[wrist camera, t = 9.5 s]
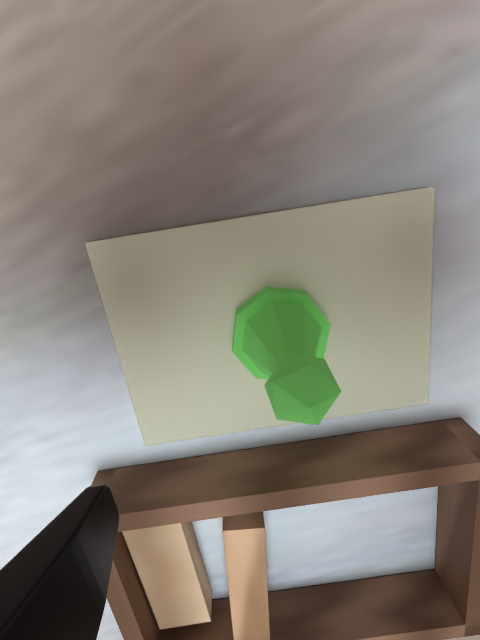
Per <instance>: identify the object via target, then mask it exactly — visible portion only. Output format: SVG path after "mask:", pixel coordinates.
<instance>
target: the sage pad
mask: <svg viewBox="0 0 480 640" xmlns="http://www.w3.org/2000/svg"><path fill="white" fill-rule="evenodd" d="M434 202H435V187H425V188H418V189H412V190H406V191H400V192H394V193H387V194H381V195H375V196H369V197H363V198H356V199H350V200H344V201H338V202H332V203H326V204H319V205H313V206H307V207H301V208H295V209H288V210H282V211H276V212H270V213H264V214H257V215H251V216H245V217H239V218H233V219H226V220H220V221H214V222H208V223H202V224H196V225H189V226H183V227H177V228H171V229H165V230H158V231H152V232H146V233H140V234H134V235H127V236H121V237H115V238H109V239H103V240H96V241H90V242H87V243H85V246H86V249H87V252H88V256H89V259H90V262H91V266H92V269H93V273H94V276H95V279H96V283H97V286H98V289H99V293H100V296H101V299H102V303H103V306H104V309H105V313H106V316H107V320H108V323H109V326H110V330H111V333H112V336H113V340H114V343H115V346H116V350H117V353H118V357H119V360H120V363H121V367H122V370H123V373H124V377H125V380H126V383H127V387H128V390H129V393H130V397H131V400H132V404H133V407H134V410H135V414H136V417H137V420H138V424H139V427H140V430H141V434H142V437H143V440H144V444H145V446H149V445H156V444H162V443H169V442H176V441H183V440H189V439H196V438H203V437H209V436H216V435H223V434H230V433H236V432H243V431H250V430H256V429H263V428H270V427H277V426H283V425H290V424H297V423H299V422H291V421H284V420H277V419H276V416H275V413H274V411H273V408H272V405H271V403H270V400H269V397H268V394H267V392H266V389H265V386H264V385H265V383H266V382H267V380H268V379H257V378H255V377H254V376H253V375H252V373H251V372H250V371H249V370H248V369H247V368H246V367H245V366H244V365H243V363H242V362H241V361H240V360H239V359H238V358H237V357H236V356H235V354H234V353H233V352H232V342H233V333H234V324H235V315H236V310H237V309H238V308H239V307H241V306H242V305H243V304H244V303H246V302H247V301H248V300H250V299H251V298H252V297H254V296H255V295H256V294H257V293H259V292H260V291H261V290H263V289H264V288H265V287H276V288H285V289H295V290H305V292H306V293H307V294H308V295H309V297H310V298H311V299H312V301H313V302H314V303H315V305H316V306H317V307H318V308H319V310H320V311H321V312H322V314H323V315H324V316H325V318H326V319H327V320H328V322H329V323H330V324H331V326H330V331H329V336H328V341H327V345H326V350H325V355H324V359H325V360H326V362H327V364H328V366H329V368H330V370H331V372H332V374H333V376H334V378H335V380H336V382H337V384H338V386H339V388H340V390H341V393H340V395H339V396H338V398H337V399H336V400H335V402H334V403H333V405H332V406H331V408H330V409H329V410H328V412H327V413H326V415H325V416H324V417H323V419H322V420H324V419H330V418H337V417H344V416H351V415H357V414H364V413H371V412H377V411H384V410H391V409H398V408H404V407H411V406H418V405H424V404H428V395H429V363H430V330H431V298H432V266H433V234H434Z"/></svg>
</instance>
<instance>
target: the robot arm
mask: <svg viewBox="0 0 480 640" xmlns="http://www.w3.org/2000/svg"><path fill="white" fill-rule="evenodd" d="M118 527H119V511H118V508H117V505H116V503H115V500H114V497H113V494H112V491H111V489H110V487H109V486H108V485H107V484H101V485H94V486H90V487H88V488H86V489H85V490H84V491H83V492H82V493H81V494H80V495H79V496H78V497H77V498H76V499H75V500H73V501H72V502H71V503H70V504H69V505H68V506H67V507H66V508H65V509H64V510H63V511H62V512H61V513H60V514H59V515H58V516H57V517H56V518H55V519H54V520H52V521H51V522H50V523H49V524H48V525H47V526H46V527H45V528H44V529H43V530H42V531H41V532H40V533H39V534H38V535H37V536H36V537H35V538H34V539H33V540H31V541H30V542H29V543H28V544H27V545H26V546H25V547H24V548H23V549H22V550H21V551H20V552H19V553H18V554H17V555H16V556H15V557H14V558H13V559H12V560H10V561H9V562H8V563H7V564H6V565H5V566H4V567H3V568H2V569H1V570H0V640H96V638H97V634H98V630H99V627H100V623H101V619H102V615H103V611H104V607H105V603H106V598H107V592H108V587H109V581H110V575H111V569H112V563H113V557H114V551H115V545H116V539H117V533H118Z"/></svg>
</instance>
